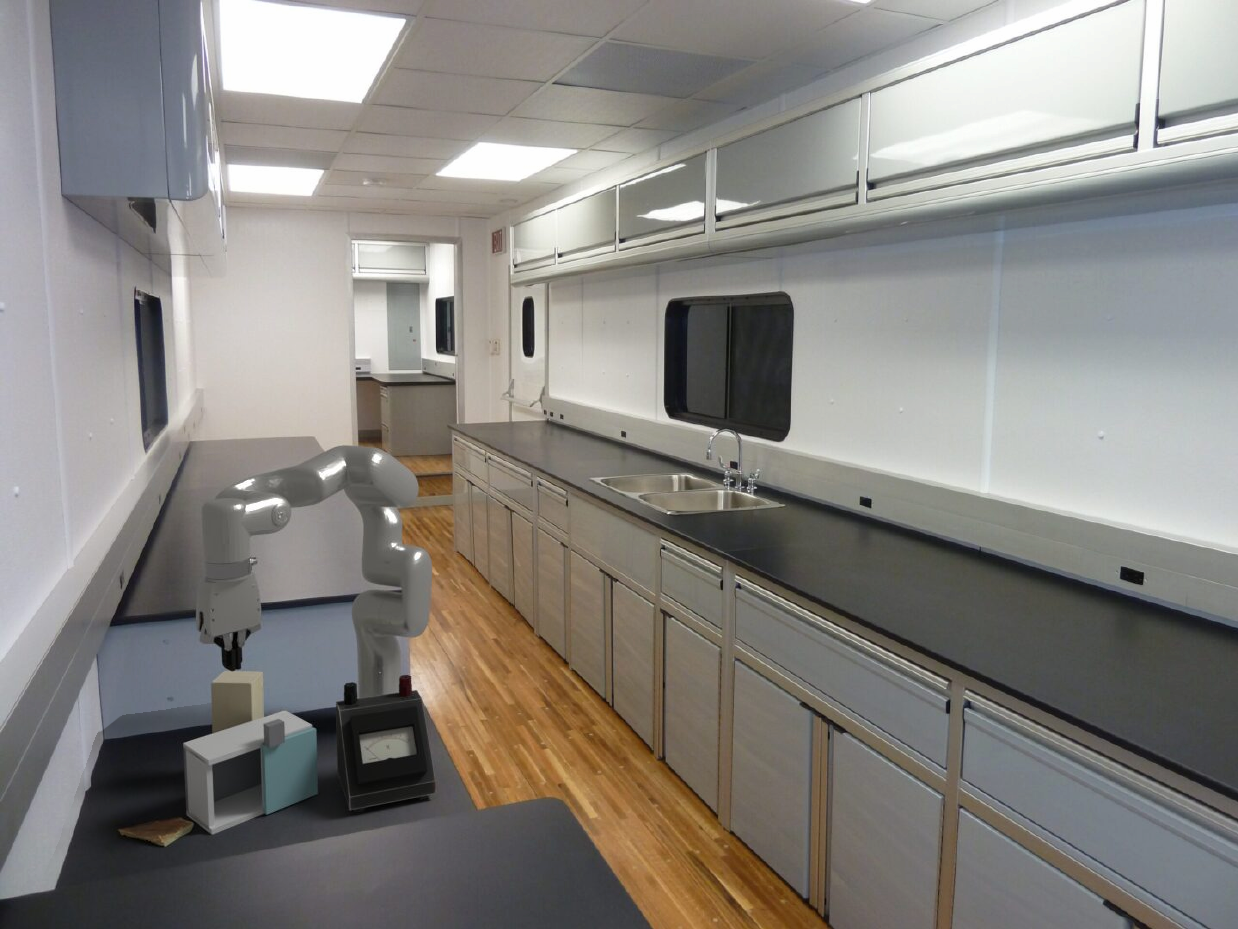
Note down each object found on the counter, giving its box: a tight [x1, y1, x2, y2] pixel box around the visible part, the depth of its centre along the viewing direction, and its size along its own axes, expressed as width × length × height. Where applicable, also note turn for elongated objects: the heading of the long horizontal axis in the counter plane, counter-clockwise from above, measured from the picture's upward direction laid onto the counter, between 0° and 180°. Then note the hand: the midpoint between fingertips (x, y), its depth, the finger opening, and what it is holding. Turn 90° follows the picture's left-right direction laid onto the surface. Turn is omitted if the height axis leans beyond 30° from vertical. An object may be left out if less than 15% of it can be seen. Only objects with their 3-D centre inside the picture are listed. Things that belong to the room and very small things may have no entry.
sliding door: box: [262, 719, 319, 815], centre depth 167 cm, size 10×2×17 cm, turn 140°
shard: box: [117, 816, 194, 847], centre depth 159 cm, size 11×8×2 cm
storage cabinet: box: [182, 710, 313, 835], centre depth 167 cm, size 20×10×14 cm, turn 140°
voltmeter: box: [335, 674, 437, 813], centre depth 174 cm, size 16×16×20 cm
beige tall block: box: [210, 670, 265, 734], centre depth 178 cm, size 8×7×21 cm
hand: (232, 668), depth 159 cm, fingers closed
